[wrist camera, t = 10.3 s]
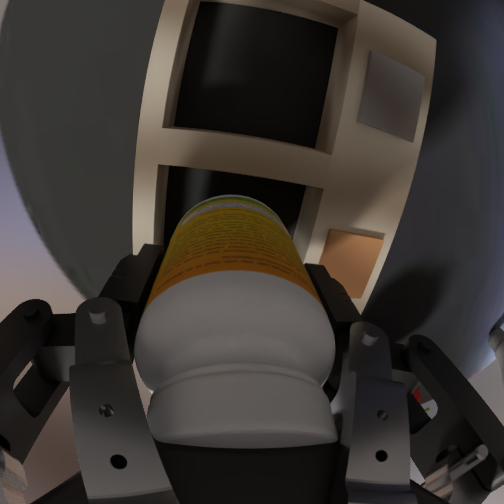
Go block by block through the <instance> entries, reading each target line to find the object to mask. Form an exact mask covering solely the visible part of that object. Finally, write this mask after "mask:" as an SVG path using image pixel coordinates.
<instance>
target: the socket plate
mask: <svg viewBox="0 0 504 504" xmlns="http://www.w3.org/2000/svg"><path fill="white" fill-rule="evenodd" d="M200 1H206V2H219V3H229V4H238V5H245V6H252V7H258V8H263V9H269V10H274V11H279V12H283V13H287V14H292V15H296V16H300V17H303V18H307V19H310V20H314V21H317V22H321V23H324V24H327V25H330V26H333V27H336V28H338V32H337V38H336V44H335V50H334V56H333V61H332V67H331V72H330V77H329V83H328V88H327V93H326V98H325V103H324V108H323V113H322V118H321V122H320V127H319V132H318V136H317V141H316V146H315V149H314V148H310V147H305V146H301V145H296V144H292V143H287V142H282V141H277V140H272V139H266V138H261V137H255V136H249V135H243V134H236V133H229V132H222V131H214V130H206V129H197V128H186V127H175V126H174V123H175V116H176V110H177V103H178V97H179V92H180V86H181V81H182V76H183V71H184V66H185V61H186V56H187V52H188V47H189V43H190V39H191V34H192V30H193V26H194V23H195V19H196V15H197V11H198V8H199V4H200ZM435 53H436V39H434V38H433V37H431V36H430V35H428V34H427V33H425V32H423V31H422V30H420V29H418V28H417V27H415V26H413V25H412V24H410V23H408V22H406V21H404V20H403V19H401V18H399V17H397V16H395V15H393V14H391V13H389V12H387V11H385V10H383V9H381V8H379V7H377V6H375V5H372V4H370V3H368V2H366V1H363V0H165V3H164V6H163V9H162V13H161V16H160V20H159V24H158V27H157V31H156V35H155V39H154V43H153V47H152V52H151V56H150V61H149V66H148V71H147V76H146V81H145V87H144V93H143V99H142V106H141V113H140V120H139V128H138V137H137V147H136V159H135V173H134V192H133V255H138V253H139V251H140V250H141V248H142V246H143V245H144V243H147V244H155V245H164V223H165V207H166V194H167V182H168V172H169V165H172V166H182V167H191V168H200V169H208V170H216V171H224V172H231V173H238V174H245V175H251V176H258V177H264V178H270V179H276V180H281V181H287V182H292V183H298V184H303V185H306V189H305V193H304V197H303V202H302V206H301V210H300V214H299V218H298V222H297V226H296V230H295V234H294V238H293V243H294V245H295V247H296V250H297V252H298V254H299V256H300V258H301V260H302V262H303V264H305V263H312V264H320V265H324V266H325V268H326V269H327V271H328V273H329V274H330V276H331V278H335V279H336V280H337V281H338V282H339V283H341V284H342V285H343V286H344V288H345V290H346V291H347V293H348V295H349V296H350V298H351V300H352V302H353V303H354V305H355V306H356V308H357V310H358V311H359V313H360V315H361V314H362V312H363V310H364V307H365V305H366V303H367V301H368V299H369V297H370V294H371V292H372V290H373V288H374V285H375V283H376V281H377V278H378V276H379V274H380V271H381V269H382V266H383V264H384V262H385V259H386V256H387V254H388V251H389V249H390V246H391V243H392V241H393V238H394V235H395V232H396V230H397V227H398V224H399V221H400V218H401V215H402V212H403V209H404V206H405V203H406V200H407V196H408V193H409V190H410V186H411V183H412V179H413V176H414V172H415V168H416V164H417V160H418V156H419V152H420V148H421V144H422V139H423V135H424V130H425V125H426V120H427V114H428V109H429V103H430V96H431V90H432V82H433V74H434V65H435Z"/></svg>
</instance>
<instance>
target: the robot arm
mask: <svg viewBox="0 0 504 504" xmlns="http://www.w3.org/2000/svg"><path fill="white" fill-rule="evenodd" d="M163 259H164V246H163V245H155V244H147V243H144V245H143V246H142V248H141V250H140V251H139V253H138V255H132V254H129V255H128V256H126V257H125V258H123V259H122V260H120V262H119V263H118V265H117V267H116V269H115V270H114V271H113V273H112V276H110V278H109V279H108V281H107V283H106V284H105V286H104V288H103V289H102V291H101V293H100V294H99V296H98V297H95V298H91V299H88V300H86V301H84V302H83V303H82V304H81V305H79V307H78V308H77V310H76V313H71V314H53V313H52V310H51V307H50V305H49V304H48V303H47V302H46V301H43V300H40V299H32V300H28V301H25V302H23V303H21V304H20V305H19V306H17V307H16V308H15V309H14V310H13V311H12V312H11V313H10V314H9V315H8V316H7V317H6V318H5V319H4V320H3V321H2V322H1V323H0V504H25V501H24V496H23V492H24V491H25V490H26V489H27V487H28V483H27V480H26V476H25V471H24V469H23V466H22V464H23V462H24V460H25V459H26V457H27V455H28V453H29V451H30V449H31V448H32V446H33V444H34V442H35V441H36V439H37V437H38V435H39V434H40V432H41V430H42V428H43V427H44V425H45V423H46V422H47V420H48V418H49V417H50V415H51V414H52V412H53V410H54V409H55V407H56V406H57V404H58V402H59V401H60V399H61V398H62V396H63V395H64V393H65V392H66V390H67V389H68V387H70V401H71V412H72V421H73V429H74V436H75V443H76V449H77V454H78V459H79V464H80V469H81V470H80V471H79V472H78V473H76V474H75V475H73V476H72V477H70V478H69V479H68V480H66V481H64V482H63V483H62V484H60V485H59V486H57V487H56V488H54V489H53V490H51V491H49V492H48V493H46V494H45V495H43V496H42V497H40V498H39V499H37V500H35V501H34V502H32V503H30V504H481V503H482V502H483V501H484V500H485V499H486V498H487V496H488V495H489V494H490V493H491V492H493V491H494V490H496V489H498V488H499V487H501V486H502V485H504V426H503V425H502V424H501V422H500V421H499V420H498V418H497V417H496V416H495V414H494V413H493V412H492V410H491V409H490V408H489V406H488V405H487V404H486V403H485V401H484V400H483V399H482V398H481V396H480V395H479V394H478V393H477V391H476V390H475V389H474V388H473V386H471V384H470V383H469V382H468V380H467V379H466V378H465V377H464V376H463V375H462V373H461V372H460V371H459V370H458V369H457V368H456V366H455V365H454V364H453V363H452V362H451V361H450V360H449V358H448V357H447V356H446V355H445V354H444V353H443V352H442V351H441V349H440V348H439V347H438V346H437V345H436V344H435V343H434V342H433V341H432V340H430V339H429V338H427V337H425V336H423V335H412V336H411V337H410V338H409V339H408V341H407V343H406V344H405V345H403V344H398V343H394V342H389V340H388V337H387V335H386V334H385V332H384V331H383V330H382V329H381V328H379V327H378V326H376V325H374V324H372V323H369V322H364V320H363V318H362V317H361V315H360V313H359V311H358V310H357V308H356V306H355V305H354V303H353V302H352V300H351V298H350V296H349V295H348V293H347V291H346V290H345V288H344V286H343V285H342V284H341V283H339V282H338V281H337V280H336V279H335V278H331V276H330V274H329V273H328V271H327V269H326V268H325V266H324V265H320V264H312V263H305V264H304V267H305V269H306V271H307V273H308V275H309V277H310V279H311V281H312V283H313V285H314V288H315V290H316V292H317V294H318V296H319V298H320V300H321V302H322V305H323V307H324V309H325V311H326V314H327V316H328V319H329V322H330V324H331V327H332V330H333V334H334V339H335V358H334V364H333V367H332V369H331V372H330V374H329V376H328V378H327V380H326V382H325V383H324V385H323V386H322V388H323V391H324V393H325V394H326V396H327V397H328V399H329V402H330V406H331V410H332V415H333V419H334V422H335V426H336V430H337V434H338V440H337V441H336V442H333V443H325V444H317V445H308V446H297V447H283V448H215V447H200V446H189V445H180V444H172V443H164V442H160V441H158V440H156V439H155V438H154V437H153V435H152V434H151V431H150V428H149V425H148V422H147V418H146V415H145V412H144V409H143V405H142V402H141V398H140V394H139V390H138V387H137V383H136V379H135V374H134V370H133V366H132V364H133V360H134V357H135V355H134V346H135V338H136V334H137V330H138V327H139V323H140V320H141V317H142V314H143V311H144V308H145V306H146V303H147V300H148V298H149V295H150V293H151V290H152V287H153V284H154V282H155V279H156V276H157V274H158V271H159V268H160V266H161V263H162V261H163ZM30 361H31V363H32V364H33V365H32V366H31V368H30V369H29V370H28V371H27V373H26V374H25V375H24V377H23V378H22V379H21V381H20V382H19V383H18V385H17V386H16V387H15V389H14V390H13V385H14V382H15V380H16V378H17V377H18V376H19V375H20V373H21V372H22V371H23V369H24V368H25V367H26V365H27V364H28V363H29V362H30ZM420 383H422V385H423V386H424V387H425V389H426V390H427V391H428V393H429V394H430V395H431V396H432V398H433V399H434V400H435V401H436V403H437V406H438V411H437V414H436V416H435V417H434V418H433V419H431V418H430V417H429V416H428V415H427V413H426V412H425V410H424V409H423V408H422V406H421V405H420V403H419V402H418V401H417V399H416V398H415V397H414V395H413V394H412V393H413V392H414V390H415V389H416V388H417V387H418V386H419V384H420ZM410 457H411V458H412V460H413V461H414V463H415V465H416V466H417V468H418V469H419V471H420V472H421V474H422V476H423V477H424V479H425V482H424V483H422V484H421V485H419V484H418V483H416V482H414V481H413V480H411V479H410Z"/></svg>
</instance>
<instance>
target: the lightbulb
mask: <svg viewBox="0 0 504 504" xmlns="http://www.w3.org/2000/svg"><path fill="white" fill-rule="evenodd" d="M488 343H489V345H490V346H491V348H492V349H493V350H494V352H495V356H496V358H497V359H498V361H499V364H500V366H501V371H502V381H503V387H504V331H503V330H502V329H501V328H498V329H496V330H493V331H492V332H491V333H490V337H489V340H488Z"/></svg>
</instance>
